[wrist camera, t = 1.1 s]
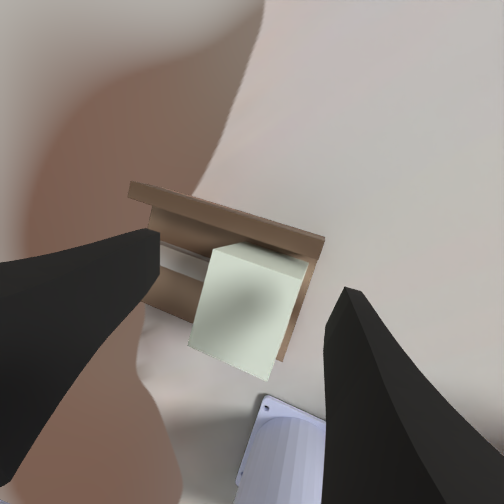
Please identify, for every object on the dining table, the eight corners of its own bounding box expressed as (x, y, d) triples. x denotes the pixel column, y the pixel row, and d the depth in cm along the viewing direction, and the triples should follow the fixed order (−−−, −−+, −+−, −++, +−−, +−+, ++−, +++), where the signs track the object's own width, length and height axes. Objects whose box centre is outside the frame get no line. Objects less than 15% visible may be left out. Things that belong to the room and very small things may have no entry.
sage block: (283, 336, 20) (267, 381, 15) (224, 312, 21) (187, 345, 16) (309, 262, 19) (301, 280, 13) (245, 241, 20) (213, 249, 15)
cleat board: (285, 352, 22) (275, 384, 18) (143, 293, 25) (105, 308, 21) (325, 237, 20) (324, 241, 16) (167, 188, 23) (130, 180, 19)
